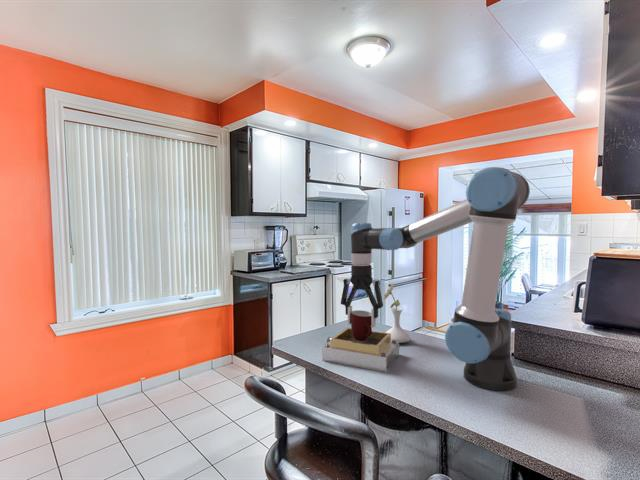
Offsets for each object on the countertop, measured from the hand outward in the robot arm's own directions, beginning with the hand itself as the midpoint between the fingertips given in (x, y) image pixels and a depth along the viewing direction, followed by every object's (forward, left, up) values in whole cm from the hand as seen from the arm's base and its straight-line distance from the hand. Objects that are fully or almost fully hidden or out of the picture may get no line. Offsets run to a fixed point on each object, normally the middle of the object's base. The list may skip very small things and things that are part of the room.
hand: (361, 324), depth 128 cm
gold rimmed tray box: (+2, 0, -12) cm, 12 cm away
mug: (0, 0, -6) cm, 6 cm away
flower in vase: (-7, -24, -13) cm, 28 cm away
